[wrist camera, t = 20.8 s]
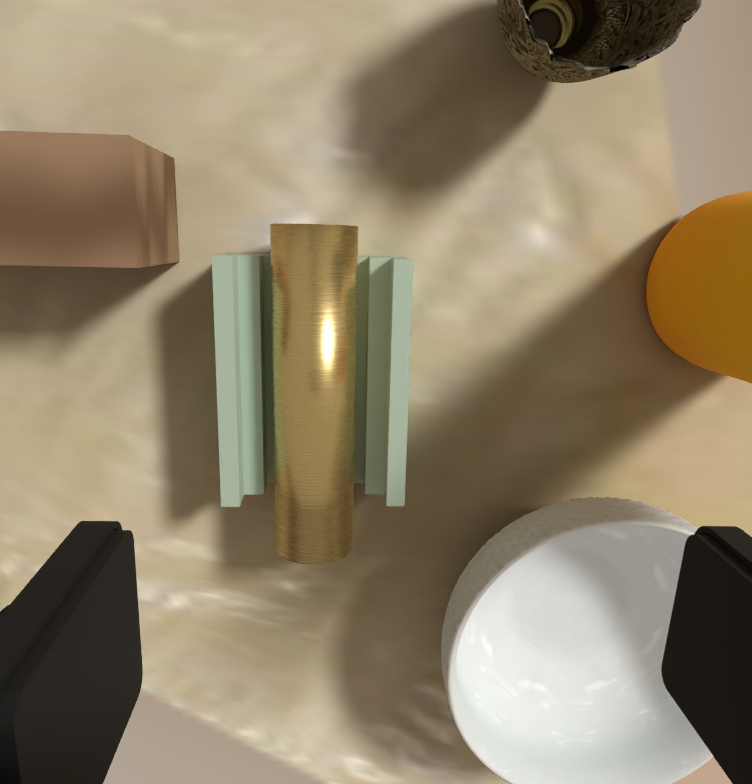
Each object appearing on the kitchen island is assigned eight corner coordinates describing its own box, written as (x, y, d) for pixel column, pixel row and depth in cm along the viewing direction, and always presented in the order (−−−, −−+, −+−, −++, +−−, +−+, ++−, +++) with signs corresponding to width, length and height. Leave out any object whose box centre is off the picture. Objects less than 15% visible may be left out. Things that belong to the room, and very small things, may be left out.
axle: (280, 225, 31) (260, 222, 27) (361, 227, 30) (354, 225, 26) (283, 525, 34) (267, 561, 30) (356, 529, 34) (348, 566, 30)
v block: (228, 253, 32) (211, 255, 28) (403, 256, 33) (413, 259, 28) (235, 473, 35) (221, 506, 30) (396, 473, 35) (404, 505, 31)
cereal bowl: (368, 611, 37) (376, 694, 31) (563, 408, 35) (618, 449, 28) (562, 756, 41) (607, 860, 34) (751, 580, 39) (840, 654, 32)
